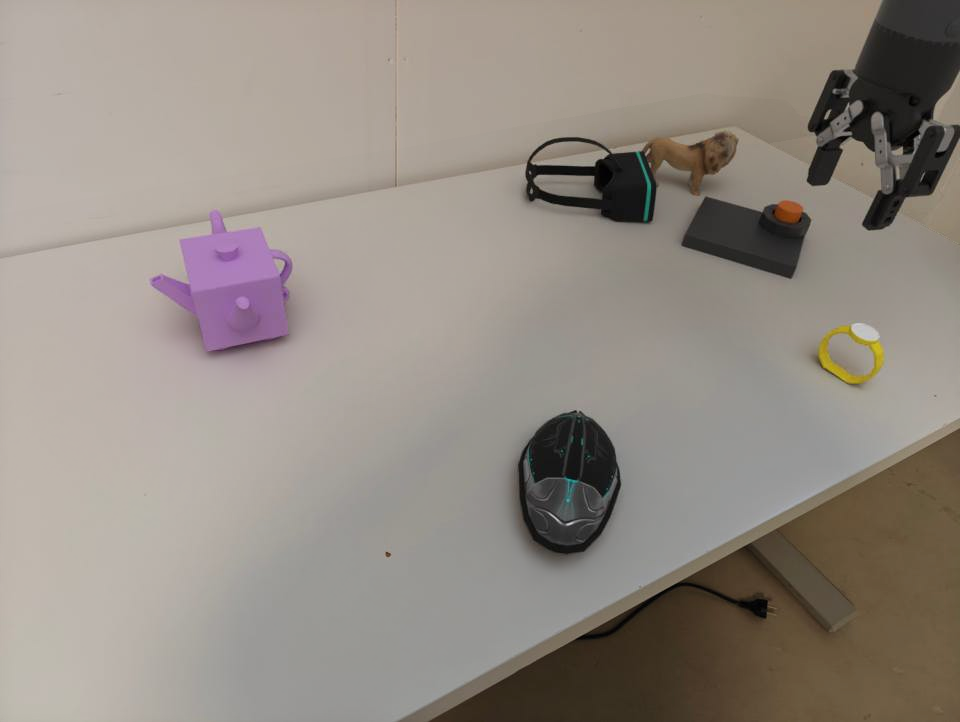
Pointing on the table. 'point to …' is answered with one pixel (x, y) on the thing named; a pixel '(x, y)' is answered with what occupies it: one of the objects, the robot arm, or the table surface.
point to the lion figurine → (693, 156)
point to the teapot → (231, 286)
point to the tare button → (788, 211)
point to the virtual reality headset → (603, 183)
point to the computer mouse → (568, 483)
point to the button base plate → (747, 236)
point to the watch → (860, 335)
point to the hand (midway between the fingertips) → (843, 205)
